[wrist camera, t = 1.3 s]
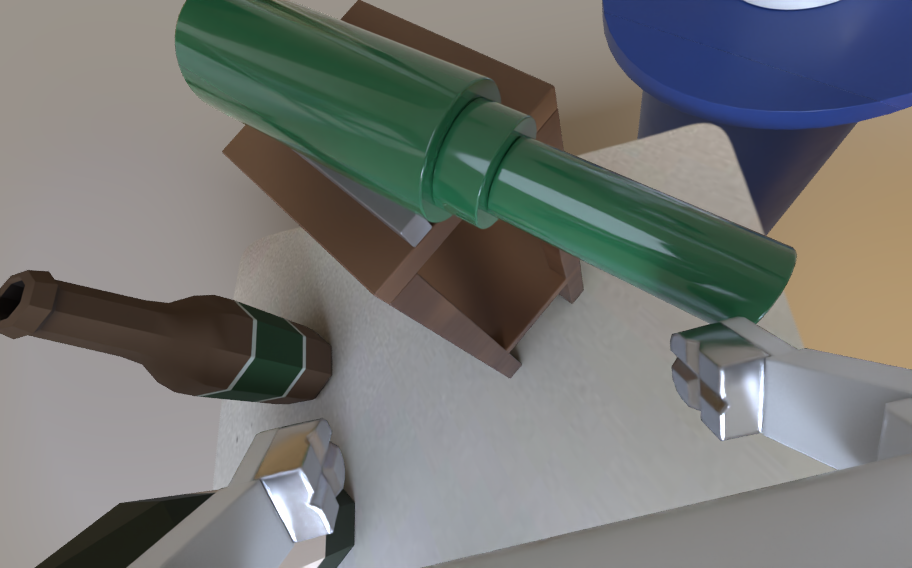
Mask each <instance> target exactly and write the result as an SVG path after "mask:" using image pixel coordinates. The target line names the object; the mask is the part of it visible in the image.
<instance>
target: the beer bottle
mask: <svg viewBox="0 0 912 568" xmlns="http://www.w3.org/2000/svg"><path fill="white" fill-rule="evenodd" d="M0 334H3V335H5V336H7V337H10V338H12V339H16V338H20V337H23V336H26V335H29V336H34V337H38V338H42V339H47V340H51V341H55V342H60V343H64V344H68V345H73V346H77V347H81V348H86V349H90V350H95V351H99V352H104V353H108V354H112V355H116V356H121V357H123V358H126V359H129V360H132V361H134V362H137V363H140V364H142V365H143V366H144V367H145V368H146V369H147V370H148V372H149V373H150V374H151V375H152V376H153V377H154V379H155V380H156V381H157V382H158V383H160V384H162V385H163V386H165V387H167V388H168V389H170V390H172V391H174V392H177V393H182V394H187V395H192V396H199V397H209V398H219V399H230V400H240V401H250V402H260V403H271V404H292V403H297V402H302V401H307V400H312V399H314V398H315V397H316V396H317V395H318V393H319V392H320V390H321V389H322V388H323V386H324V385H325V384H326V382H327V381H328V379H329V378H330V377H331V375H332V350H331V346H330V345H329V344H328V343H327V342H326V341H325V340H324V339H322V338H321V337H320V336H319V335H318V334H317V333H316V332H314V331H313V330H311V329H309V328H307V327H305V326H303V325H300V324H297V323H295V322H292V321H289V320H286V319H284V318H281V317H278V316H276V315H273V314H270V313H267V312H265V311H262V310H259V309H256V308H254V307H251V306H248V305H245V304H243V303H240V302H237V301H235V300H231V299H227V298H223V297H220V296H216V295H203V296H192V297H188V298H185V299H181V300H178V301H174V302H171V303H164V302H155V301H146V300H141V299H137V298H133V297H128V296H124V295H120V294H115V293H111V292H107V291H102V290H98V289H93V288H89V287H85V286H80V285H76V284H72V283H67V282H63V281H58V280H54V278H53V277H52V275H51V274H50V273H49V272H48V271H32V270H27V271H24V272H21V273H18V274H15V275H12V276H11V277H10V278H9V279H8V280H7V281H6V282H5V283H4V285H3V286H2V287H1V288H0Z"/></svg>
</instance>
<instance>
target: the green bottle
mask: <svg viewBox="0 0 912 568" xmlns="http://www.w3.org/2000/svg"><path fill="white" fill-rule="evenodd" d="M175 49H176V56H177V60H178V64H179V67H180V70H181V73H182V75H183V76H184V78H185V80H186V82H187V84H188V85H189V87H190V88H191V89H192V91H193V92H194V93H195V94H196V95H197V96H198V97H199V98H200V99H201V100H202V101H203V102H205V103H206V104H208V105H209V106H211V107H213V108H215V109H217V110H219V111H221V112H222V113H224V114H226V115H228V116H230V117H232V118H234V119H236V120H238V121H240V122H242V123H243V124H245V125H247V126H249V127H251V128H253V129H255V130H257V131H259V132H260V133H262V134H264V135H266V136H268V137H270V138H272V139H274V140H276V141H277V142H279V143H281V144H283V145H285V146H287V147H289V148H291V149H293V150H295V151H296V152H298V153H300V154H302V155H304V156H306V157H308V158H310V159H312V160H314V161H315V162H317V163H319V164H321V165H323V166H325V167H327V168H329V169H331V170H332V171H334V172H336V173H338V174H340V175H342V176H344V177H346V178H348V179H350V180H351V181H353V182H355V183H357V184H359V185H361V186H363V187H365V188H367V189H369V190H370V191H372V192H374V193H376V194H378V195H380V196H382V197H384V198H386V199H387V200H389V201H391V202H393V203H395V204H397V205H399V206H401V207H403V208H405V209H406V210H408V211H410V212H412V213H414V214H416V215H418V216H420V217H422V218H423V219H425V220H427V221H429V222H433V223H438V222H442V221H445V220H446V219H448V218H450V217H451V216H452V215H454V216H456V217H458V218H460V219H462V220H464V221H465V222H467V223H469V224H471V225H473V226H475V227H477V228H479V229H486V228H488V227H490V226H492V225H493V224H494V223H495V222H496V221H497V220H498V219H500V220H502V221H504V222H506V223H508V224H510V225H512V226H514V227H516V228H518V229H520V230H522V231H524V232H526V233H528V234H530V235H532V236H534V237H536V238H538V239H540V240H542V241H544V242H546V243H548V244H550V245H552V246H554V247H556V248H558V249H560V250H562V251H564V252H566V253H568V254H570V255H572V256H574V257H576V258H578V259H580V260H582V261H585V262H587V263H589V264H591V265H593V266H595V267H597V268H599V269H601V270H603V271H605V272H607V273H609V274H611V275H613V276H615V277H617V278H619V279H621V280H623V281H625V282H627V283H629V284H631V285H633V286H635V287H637V288H639V289H641V290H643V291H645V292H647V293H649V294H651V295H653V296H655V297H657V298H659V299H661V300H663V301H665V302H667V303H669V304H671V305H673V306H675V307H677V308H679V309H681V310H683V311H685V312H687V313H689V314H691V315H693V316H695V317H697V318H699V319H701V320H703V321H705V322H707V323H709V324H713V323H716V322H719V321H722V320H726V319H729V318H733V317H737V316H739V317H745V318H746V319H748V320H750V321H751V322H753V323H755V324H756V323H758V322H759V321H760V320H761V319H762V318H763V317H764V315H765V314H766V313H767V312H768V311H769V310H770V308H771V307H772V306H773V305H774V303H775V302H776V301H777V299H778V298H779V296H780V295H781V293H782V292H783V290H784V288H785V286H786V285H787V283H788V281H789V279H790V277H791V275H792V272H793V269H794V266H795V262H796V258H797V254H796V250H795V249H794V248H793V247H791V246H789V245H786V244H784V243H781V242H779V241H777V240H774V239H772V238H770V237H767V236H765V235H762V234H760V233H758V232H755V231H753V230H751V229H748V228H746V227H743V226H741V225H739V224H736V223H734V222H732V221H729V220H727V219H724V218H722V217H720V216H717V215H715V214H713V213H710V212H708V211H705V210H703V209H701V208H698V207H696V206H694V205H691V204H689V203H686V202H684V201H682V200H679V199H677V198H675V197H672V196H670V195H667V194H665V193H663V192H660V191H658V190H655V189H653V188H651V187H648V186H646V185H644V184H641V183H639V182H636V181H634V180H632V179H629V178H627V177H625V176H622V175H620V174H617V173H615V172H613V171H610V170H608V169H606V168H603V167H601V166H598V165H596V164H594V163H591V162H589V161H587V160H584V159H582V158H579V157H577V156H575V155H572V154H570V153H567V152H565V151H563V150H560V149H558V148H556V147H553V146H551V145H549V144H546V143H544V142H541V141H539V140H537V139H536V134H537V126H536V121H535V119H534V118H533V117H532V116H531V115H528V114H526V113H523V112H521V111H518V110H516V109H513V108H511V107H508V106H506V105H503V104H501V95H500V91H499V88H498V86H497V84H496V83H495V82H494V81H493V80H492V79H491V78H489V77H487V76H484V75H481V74H479V73H476V72H474V71H471V70H468V69H466V68H463V67H461V66H458V65H456V64H453V63H450V62H448V61H445V60H443V59H440V58H437V57H435V56H432V55H430V54H427V53H425V52H422V51H419V50H417V49H414V48H412V47H409V46H406V45H404V44H401V43H399V42H396V41H394V40H391V39H388V38H386V37H383V36H381V35H378V34H375V33H373V32H370V31H368V30H365V29H363V28H360V27H357V26H355V25H352V24H350V23H347V22H344V21H342V20H339V19H337V18H334V17H332V16H329V15H326V14H324V13H321V12H319V11H316V10H313V9H311V8H308V7H306V6H303V5H301V4H298V3H295V2H293V1H290V0H186V2H185V4H184V5H183V7H182V9H181V12H180V14H179V16H178V20H177V24H176V30H175Z"/></svg>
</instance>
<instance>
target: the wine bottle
mask: <svg viewBox="0 0 912 568" xmlns="http://www.w3.org/2000/svg"><path fill="white" fill-rule="evenodd" d="M217 491H218V490H212V491H205V492H198V493H191V494H184V495H176V496H168V497H162V498H154V499H146V500H139V501H132V502H125V503H119V504H118V505H117V506H115V507H114V508H113V509H112V510H110V511H109V512H107V513H106V514H105V515H103V516H102V517H101V518H100V519H98V520H97V521H96V522H94V523H93V524H92V525H90V526H89V527H88V528H86V529H85V530H84V531H82V532H81V533H80V534H78V535H77V536H76V537H75V538H73V539H72V540H71V541H69V542H68V543H67V544H65V545H64V546H63V547H61V548H60V549H59V550H57V551H56V552H55V553H53V554H52V555H51V556H50V557H48V558H47V559H46V560H44V561H43V562H42V563H40V564H39V565H38V566H36V567H35V568H127V567H128V566H129V565H130V564H131V563H133V562H134V561H135V560H136V559H137V558H139V557H140V556H141V555H142V554H143V553H144V552H146V551H147V550H148V549H149V548H150V547H152V546H153V545H154V544H155V543H156V542H158V541H159V540H160V539H161V538H162V537H164V536H165V535H166V534H167V533H168V532H170V531H171V530H172V529H173V528H174V527H175V526H177V525H178V524H179V523H180V522H181V521H183V520H184V519H185V518H186V517H187V516H189V515H190V514H191V513H192V512H193V511H195V510H196V509H197V508H198V507H199V506H200V505H202V504H203V503H204V502H205V501H206V500H208V499H209V498H210V497H211V496H212V495H214V494H215V493H216V492H217ZM336 500H337V502H338V504H339V509H338V513H337V517H336V522H335V526H334V530H333V533H330V534H327V535H323V536H319V537H315V538H312V539H308V540H304V541H301V542H297V543H294V547H293V548H292V549H291V551H290V552H289V554H288V555H287V556H286V558H285V559H284V560H283V562H282V563H281V565H280V566H279V567H278V568H337V566H338V565H339V564H340V563H341V561H342V560H343V559H344V557H345V556H346V555H347V554H348V552H349V551H350V550H351V548H352V547H353V546H354V519H355V503H354V501H353V500H352V499H351V498H350V496H349V495H348V494H347V493H346V491H345V490H344V489H342V491H341V492H340V493H339V494H338V495H337V496H336Z"/></svg>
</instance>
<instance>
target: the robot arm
mask: <svg viewBox="0 0 912 568" xmlns="http://www.w3.org/2000/svg"><path fill="white" fill-rule="evenodd" d="M743 1H746V2H748V3H750V4H753V5H757V6H760V7H765V8H771V9H783V10H793V9H806V8H813V7H818V6H823V5H827V4H830V3H834V2H837V1H839V0H743ZM670 350H671V351H672V352H673V353H674V354H675V355H676V356H677V359H676V360H675V362H674V364H673V365H672V378H673V382H674V384H675V387H676V390H677V392H678V394H679V395H680V397H681V398H682V400H683V401H684V402H685V403H686V404H687V405H688V407H691V408H694V409H696V410H699V411H701V421H702V422H703V423H704V424H705V425H706V426H707V427H708V428H709V429H710V430H711V431H712V432H713V433H714V434H715V435H716V436H717V437H718V439H719V440H720V441H724V440H729V439H734V438H739V437H743V436H748V435H753V434H758V433H763V435H765V436H767V437H769V438H771V439H773V440H775V441H777V442H780V443H782V444H784V445H786V446H788V447H790V448H792V449H794V450H797V451H799V452H801V453H803V454H805V455H807V456H809V457H811V458H814V459H816V460H818V461H820V462H822V463H824V464H826V465H829V466H831V467H833V468H835V469H837V470H836V471H832V472H828V473H824V474H820V475H816V476H811V477H807V478H803V479H799V480H795V481H790V482H786V483H782V484H778V485H774V486H769V487H765V488H761V489H756V490H752V491H748V492H743V493H739V494H735V495H730V496H726V497H722V498H717V499H713V500H709V501H704V502H700V503H696V504H691V505H687V506H683V507H679V508H674V509H670V510H666V511H661V512H657V513H653V514H648V515H644V516H640V517H635V518H631V519H627V520H622V521H618V522H614V523H609V524H605V525H601V526H597V527H592V528H588V529H584V530H580V531H575V532H571V533H567V534H563V535H558V536H554V537H550V538H546V539H541V540H537V541H533V542H529V543H524V544H520V545H516V546H512V547H507V548H503V549H499V550H495V551H490V552H486V553H482V554H478V555H473V556H469V557H465V558H461V559H456V560H452V561H448V562H443V563H439V564H435V565H431V566H426V567H422V568H912V370H911V369H906V368H901V367H896V366H891V365H886V364H881V363H876V362H872V361H867V360H862V359H857V358H852V357H847V356H842V355H837V354H832V353H827V352H822V351H817V350H813V349H807V348H804V349H800V350H798V349H796V348H795V347H793V346H791V345H790V344H788V343H786V342H785V341H783V340H781V339H780V338H778V337H776V336H775V335H773V334H771V333H770V332H768V331H766V330H765V329H763V328H761V327H760V326H758V325H756V324H755V323H753V322H751V321H750V320H748V319H746V318H745V317H739V316H737V317H733V318H729V319H726V320H722V321H719V322H716V323H713V324H709V325H705V326H701V327H697V328H693V329H690V330H686V331H682V332H678V333H674V334H672V336H671V339H670ZM331 435H332V430H331V428H330V426H329V424H328V422H327V420H325V419H323V418H320V419H316V420H311V421H307V422H302V423H298V424H293V425H289V426H284V427H281V428H275V429H271V430H267V431H263V432H260V433H259V434H257V435H256V436H255V438H254V440H253V442H252V443H251V445H250V447H249V449H248V451H247V452H246V454H245V456H244V458H243V460H242V462H241V463H240V465H239V467H238V469H237V471H236V473H235V474H234V476H233V478H232V480H231V482H230V483H229V485H228V487H225V488H221V489H220V490H218V491H217V492H216V493H215V494H214V495H212V496H211V497H210V498H209V499H208V500H206V501H205V502H204V503H203V504H202V505H200V506H199V507H198V508H197V509H196V510H195V511H193V512H192V513H191V514H190V515H189V516H187V517H186V518H185V519H184V520H183V521H181V522H180V523H179V524H178V525H177V526H175V527H174V528H173V529H172V530H171V531H170V532H168V533H167V534H166V535H165V536H164V537H162V538H161V539H160V540H159V541H158V542H156V543H155V544H154V545H153V546H152V547H150V548H149V549H148V550H147V551H146V552H144V553H143V554H142V555H141V556H140V557H139V558H137V559H136V560H135V561H134V562H133V563H131V564H130V565H129V566H128V567H127V568H278V567H279V566H280V565H281V563H282V562H283V560H284V559H285V558H286V556H287V555H288V554H289V552H290V551H291V549H292V548H293V547H294V543H297V542H301V541H304V540H308V539H312V538H315V537H319V536H323V535H327V534H330V533H333V530H334V526H335V522H336V517H337V513H338V509H339V504H338V502H337V500H336V496H337V495H338V494H339V493H340V492H341V491H342V489H343V486H344V481H345V464H344V460H343V456H342V453H341V451H340V448H339V447H338V446H337V445H335V444H334V443H332V442H330V439H331Z"/></svg>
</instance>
